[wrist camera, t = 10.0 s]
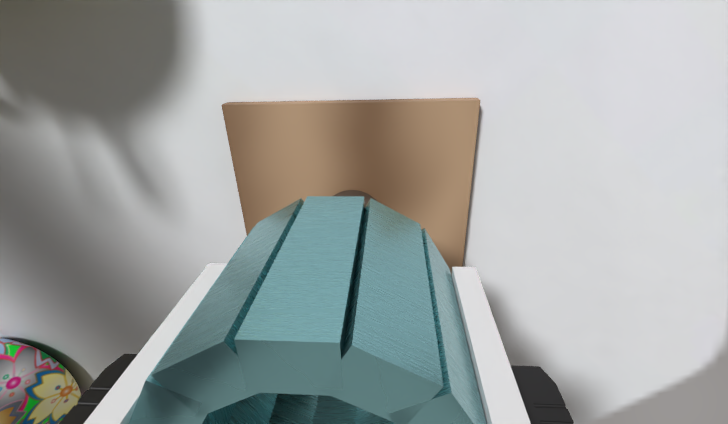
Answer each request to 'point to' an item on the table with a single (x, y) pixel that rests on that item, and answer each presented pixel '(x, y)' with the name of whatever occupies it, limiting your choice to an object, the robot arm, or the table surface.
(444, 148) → the peg on square base
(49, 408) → the mug
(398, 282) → the teal slatted pot
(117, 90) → the table surface
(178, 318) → the robot arm
